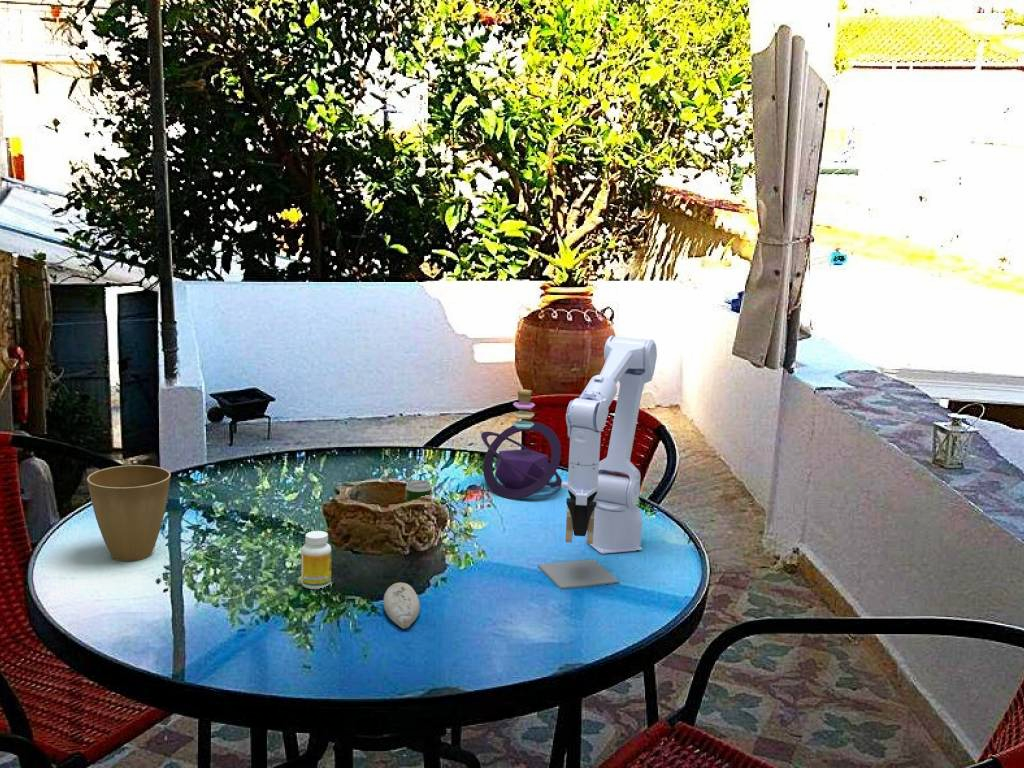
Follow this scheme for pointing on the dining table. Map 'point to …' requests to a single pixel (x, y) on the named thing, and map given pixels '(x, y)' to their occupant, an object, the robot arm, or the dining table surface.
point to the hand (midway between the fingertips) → (580, 530)
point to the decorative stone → (401, 604)
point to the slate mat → (577, 574)
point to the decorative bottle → (521, 457)
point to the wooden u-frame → (570, 528)
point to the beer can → (417, 489)
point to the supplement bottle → (316, 561)
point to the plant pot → (129, 508)
